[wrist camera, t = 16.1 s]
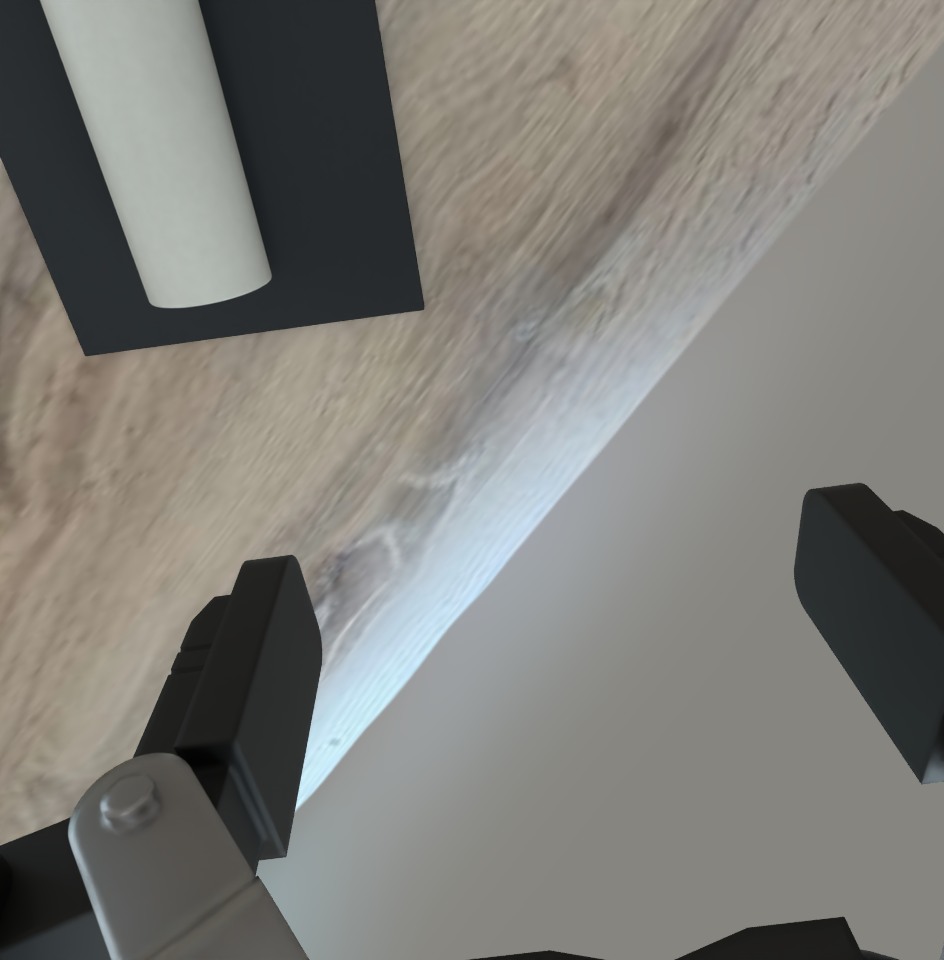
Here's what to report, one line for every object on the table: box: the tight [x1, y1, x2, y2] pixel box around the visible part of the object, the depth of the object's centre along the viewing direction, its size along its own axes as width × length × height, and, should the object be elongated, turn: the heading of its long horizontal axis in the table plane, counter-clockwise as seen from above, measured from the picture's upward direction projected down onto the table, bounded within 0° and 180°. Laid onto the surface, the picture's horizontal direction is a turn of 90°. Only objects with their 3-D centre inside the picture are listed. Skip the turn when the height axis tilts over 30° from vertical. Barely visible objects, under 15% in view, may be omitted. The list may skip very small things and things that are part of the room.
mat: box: [0, 0, 424, 356], centre depth 33 cm, size 20×18×1 cm
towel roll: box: [40, 0, 272, 308], centre depth 30 cm, size 6×14×6 cm, turn 7°
